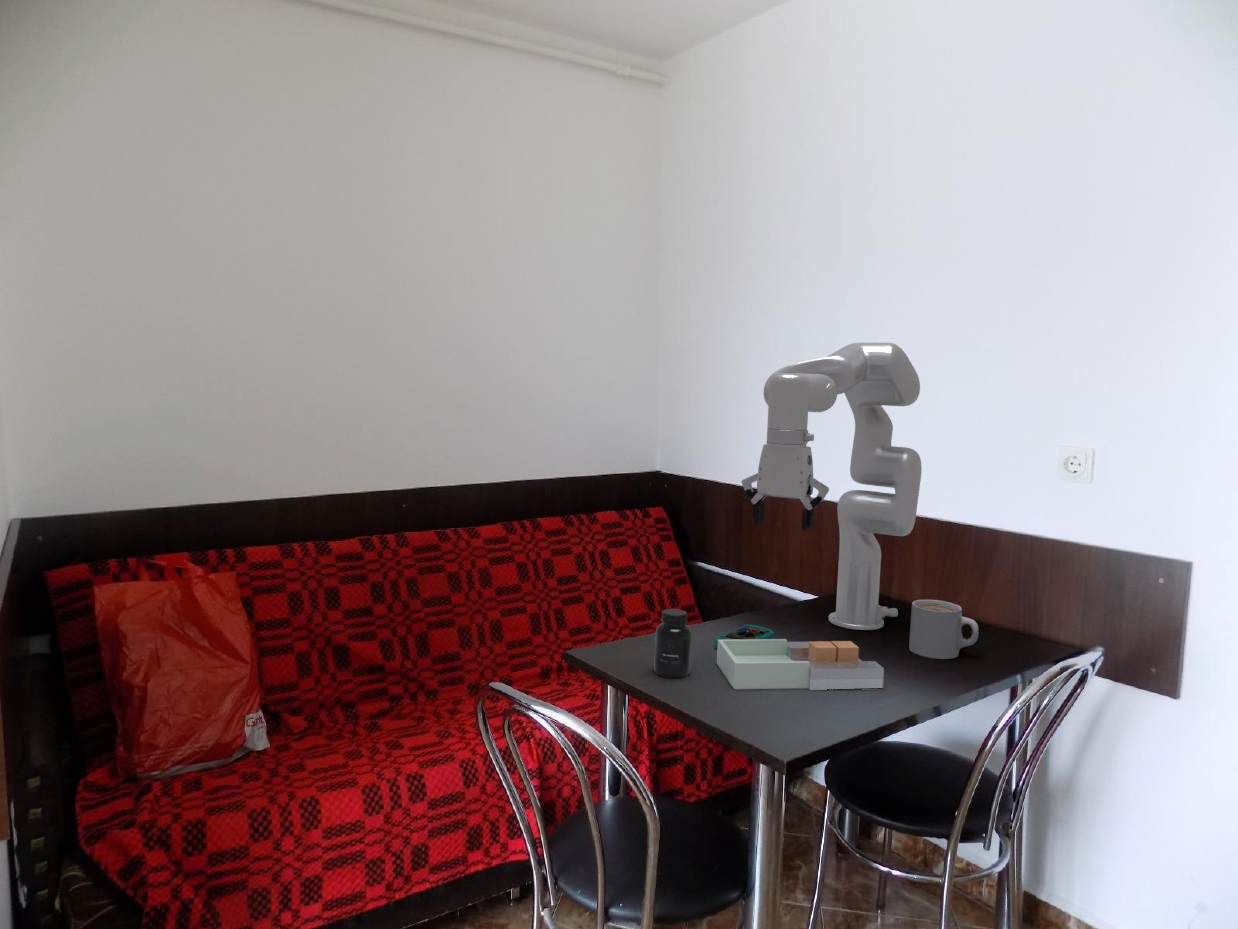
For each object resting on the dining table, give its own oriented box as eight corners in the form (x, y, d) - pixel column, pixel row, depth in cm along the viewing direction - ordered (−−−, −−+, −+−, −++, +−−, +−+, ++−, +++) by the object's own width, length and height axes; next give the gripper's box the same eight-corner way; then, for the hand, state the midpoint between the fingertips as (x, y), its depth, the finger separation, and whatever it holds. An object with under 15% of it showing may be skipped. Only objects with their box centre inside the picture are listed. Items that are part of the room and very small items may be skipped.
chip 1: (827, 661, 165) (828, 641, 165) (835, 668, 161) (836, 647, 161) (807, 661, 165) (809, 641, 164) (815, 668, 161) (816, 648, 160)
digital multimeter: (776, 641, 185) (776, 628, 184) (743, 658, 173) (744, 644, 172) (746, 635, 189) (746, 622, 189) (712, 651, 177) (713, 637, 177)
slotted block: (849, 660, 172) (850, 641, 172) (882, 689, 156) (884, 668, 156) (783, 661, 170) (784, 641, 170) (809, 690, 155) (811, 669, 154)
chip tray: (784, 662, 169) (785, 639, 169) (808, 688, 156) (809, 662, 155) (716, 663, 168) (717, 639, 167) (734, 689, 154) (735, 663, 154)
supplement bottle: (663, 681, 157) (666, 618, 156) (648, 669, 163) (650, 608, 162) (696, 676, 160) (698, 615, 159) (679, 665, 166) (681, 606, 165)
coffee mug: (901, 651, 179) (904, 605, 178) (918, 641, 187) (921, 597, 186) (966, 666, 171) (970, 618, 170) (981, 655, 178) (985, 608, 177)
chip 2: (849, 660, 166) (850, 641, 165) (857, 667, 162) (858, 647, 161) (830, 661, 165) (831, 641, 165) (837, 668, 161) (838, 647, 161)
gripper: (837, 440, 160) (832, 529, 162) (752, 435, 169) (748, 519, 171) (824, 442, 154) (819, 534, 155) (737, 436, 163) (733, 523, 164)
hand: (782, 526), depth 163 cm, fingers open, 9 cm apart
